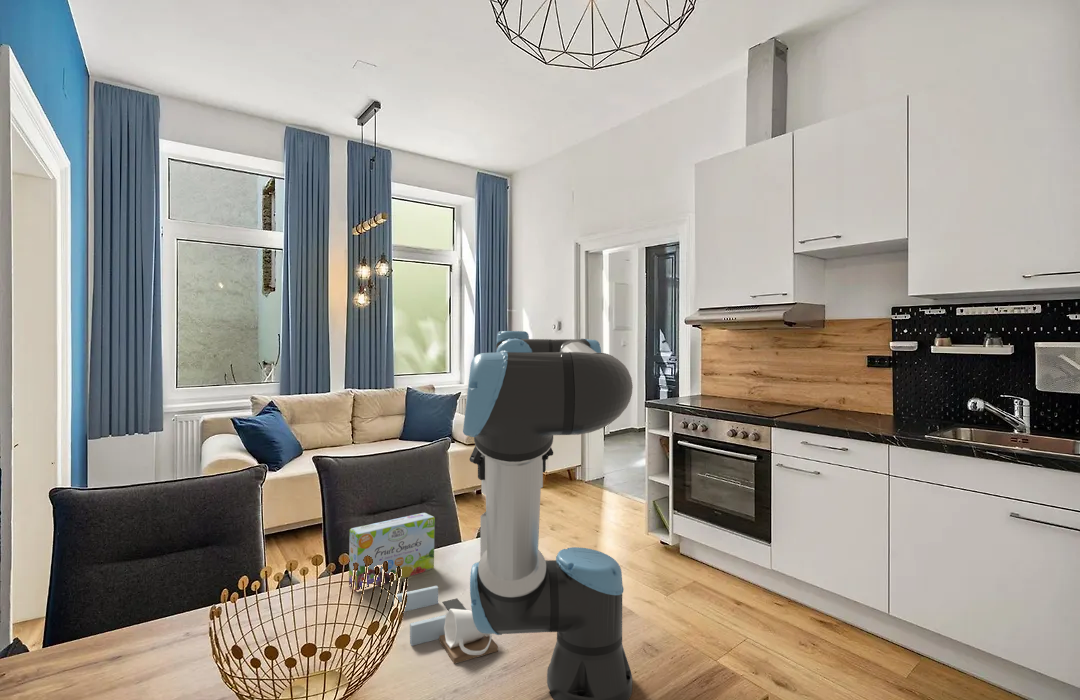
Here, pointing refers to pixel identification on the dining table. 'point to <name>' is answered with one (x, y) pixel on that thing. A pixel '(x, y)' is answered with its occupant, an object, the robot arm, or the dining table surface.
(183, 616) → the dining table surface
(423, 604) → the channel
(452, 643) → the cup
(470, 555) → the dining table surface
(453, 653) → the trivet
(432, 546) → the snack box
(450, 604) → the mat
